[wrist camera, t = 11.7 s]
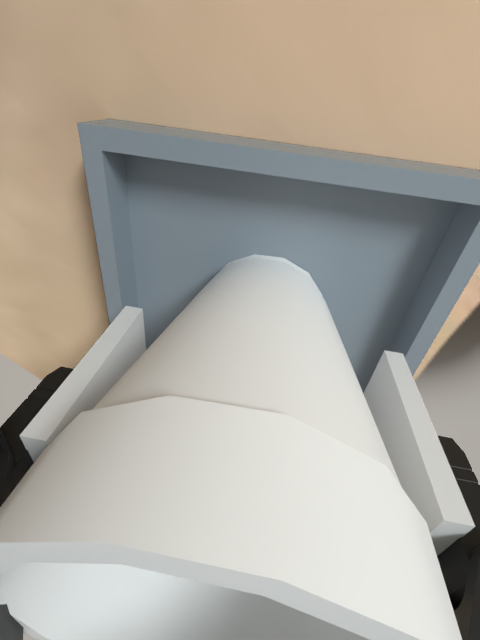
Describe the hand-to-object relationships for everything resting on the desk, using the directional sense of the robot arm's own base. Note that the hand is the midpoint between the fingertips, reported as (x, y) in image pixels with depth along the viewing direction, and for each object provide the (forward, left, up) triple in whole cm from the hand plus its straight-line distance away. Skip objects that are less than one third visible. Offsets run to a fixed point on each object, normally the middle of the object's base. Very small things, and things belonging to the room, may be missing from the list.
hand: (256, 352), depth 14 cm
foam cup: (0, 0, -4) cm, 4 cm away
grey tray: (0, 0, -4) cm, 4 cm away
